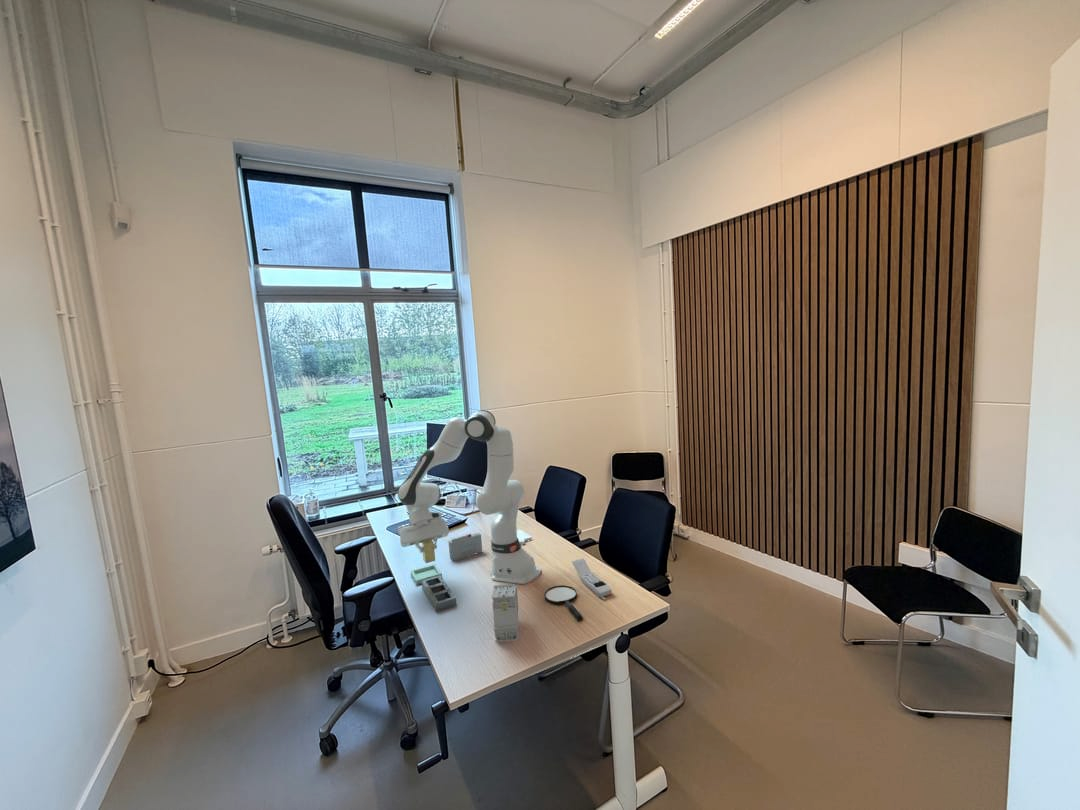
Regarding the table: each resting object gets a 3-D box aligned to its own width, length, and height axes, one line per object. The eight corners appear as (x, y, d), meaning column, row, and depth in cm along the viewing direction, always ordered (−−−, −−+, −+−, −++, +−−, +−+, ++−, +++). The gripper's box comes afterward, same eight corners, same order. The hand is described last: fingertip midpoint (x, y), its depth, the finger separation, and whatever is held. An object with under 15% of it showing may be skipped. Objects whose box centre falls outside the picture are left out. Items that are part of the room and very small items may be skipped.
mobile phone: (583, 557, 185) (615, 582, 162) (584, 571, 185) (616, 597, 162) (570, 561, 183) (601, 587, 160) (571, 574, 183) (602, 602, 160)
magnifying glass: (563, 626, 147) (563, 620, 147) (540, 594, 170) (539, 589, 169) (596, 617, 151) (596, 611, 151) (569, 587, 174) (568, 581, 174)
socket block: (456, 605, 164) (456, 597, 164) (435, 612, 160) (435, 604, 160) (440, 581, 183) (440, 575, 183) (422, 587, 180) (421, 580, 179)
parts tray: (442, 577, 187) (441, 573, 187) (416, 585, 182) (416, 580, 182) (435, 568, 197) (435, 563, 197) (411, 574, 192) (410, 570, 192)
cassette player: (480, 550, 214) (478, 530, 213) (482, 551, 211) (480, 532, 210) (450, 559, 205) (448, 539, 205) (452, 561, 203) (450, 540, 202)
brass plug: (435, 560, 180) (433, 542, 179) (425, 563, 178) (423, 544, 177) (432, 557, 183) (431, 539, 183) (423, 559, 182) (421, 541, 181)
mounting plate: (496, 537, 229) (496, 534, 229) (518, 531, 235) (518, 528, 235) (511, 548, 213) (510, 545, 213) (534, 542, 220) (533, 538, 219)
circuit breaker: (518, 615, 155) (516, 575, 154) (518, 639, 141) (514, 596, 140) (498, 616, 155) (495, 576, 154) (495, 641, 141) (491, 597, 139)
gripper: (396, 523, 180) (403, 553, 173) (444, 512, 190) (453, 540, 182) (395, 530, 185) (402, 560, 177) (442, 519, 194) (451, 547, 187)
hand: (428, 550), depth 180 cm, fingers closed on brass plug, 4 cm apart
